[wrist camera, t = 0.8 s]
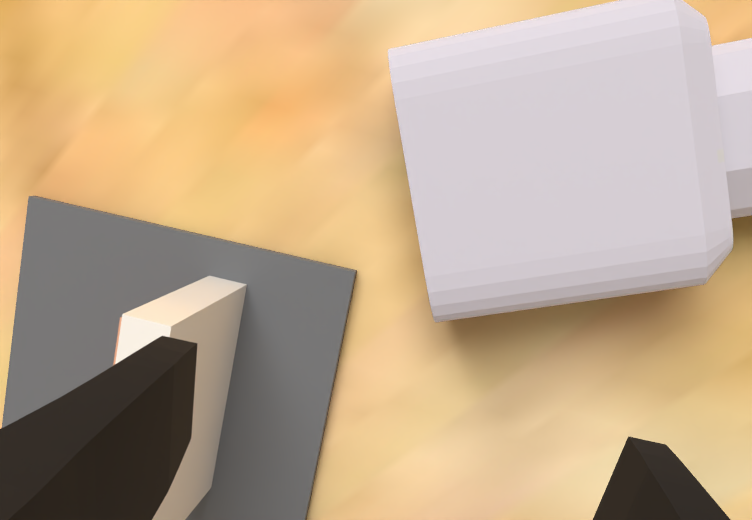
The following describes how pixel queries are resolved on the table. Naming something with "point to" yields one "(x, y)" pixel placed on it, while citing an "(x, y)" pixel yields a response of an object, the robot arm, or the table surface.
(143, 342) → the tile
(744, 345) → the table surface
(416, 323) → the table surface
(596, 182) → the charger
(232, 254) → the mat
